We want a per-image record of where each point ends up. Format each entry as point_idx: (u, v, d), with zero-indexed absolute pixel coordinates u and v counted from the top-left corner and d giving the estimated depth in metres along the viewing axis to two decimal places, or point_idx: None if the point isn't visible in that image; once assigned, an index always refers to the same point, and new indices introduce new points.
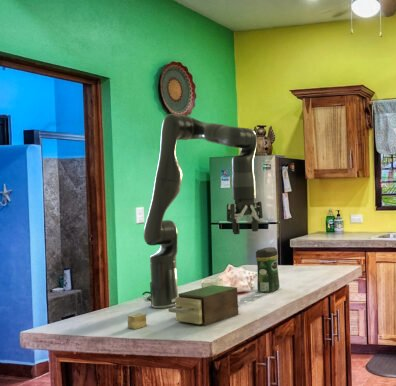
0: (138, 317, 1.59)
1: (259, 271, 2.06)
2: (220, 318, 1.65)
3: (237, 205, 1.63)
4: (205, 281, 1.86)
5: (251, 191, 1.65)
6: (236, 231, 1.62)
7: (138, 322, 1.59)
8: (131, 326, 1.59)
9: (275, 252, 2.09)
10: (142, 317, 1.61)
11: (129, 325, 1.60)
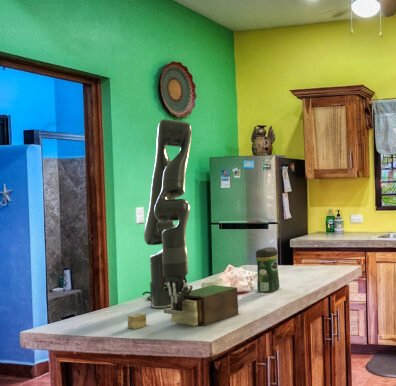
0: (138, 317, 1.59)
1: (259, 271, 2.06)
2: (220, 318, 1.65)
3: None
4: (205, 281, 1.86)
5: (165, 269, 1.54)
6: None
7: (138, 322, 1.59)
8: (131, 326, 1.59)
9: (275, 252, 2.09)
10: (142, 317, 1.61)
11: (129, 325, 1.60)
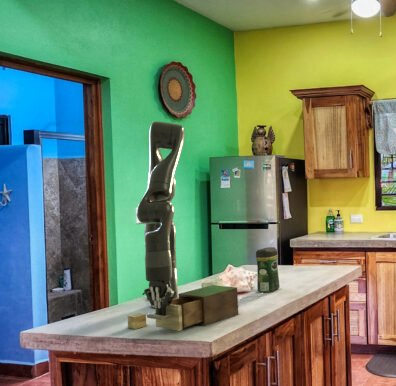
0: (138, 317, 1.59)
1: (259, 271, 2.06)
2: (220, 318, 1.65)
3: None
4: (205, 281, 1.86)
5: (147, 273, 1.49)
6: None
7: (138, 322, 1.59)
8: (131, 326, 1.59)
9: (275, 252, 2.09)
10: (142, 317, 1.61)
11: (129, 325, 1.60)
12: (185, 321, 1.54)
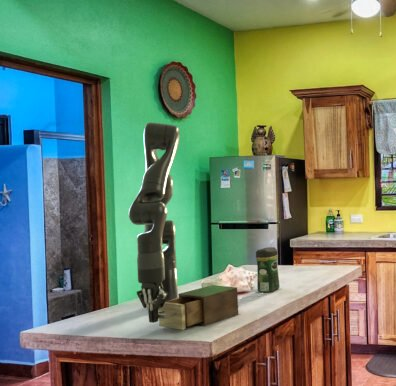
0: None
1: (259, 271, 2.06)
2: (220, 318, 1.65)
3: None
4: (205, 281, 1.86)
5: (139, 275, 1.47)
6: None
7: None
8: None
9: (275, 252, 2.09)
10: None
11: None
12: (188, 320, 1.55)
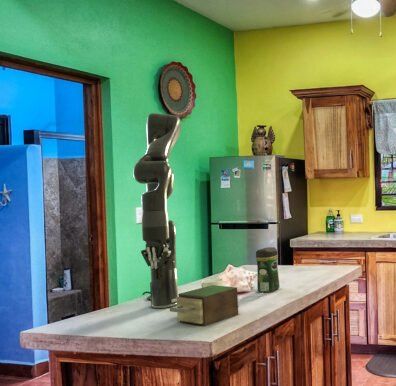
0: None
1: (259, 271, 2.06)
2: (220, 318, 1.65)
3: None
4: (205, 281, 1.86)
5: (144, 233, 1.48)
6: None
7: None
8: None
9: (275, 252, 2.09)
10: None
11: None
12: None
